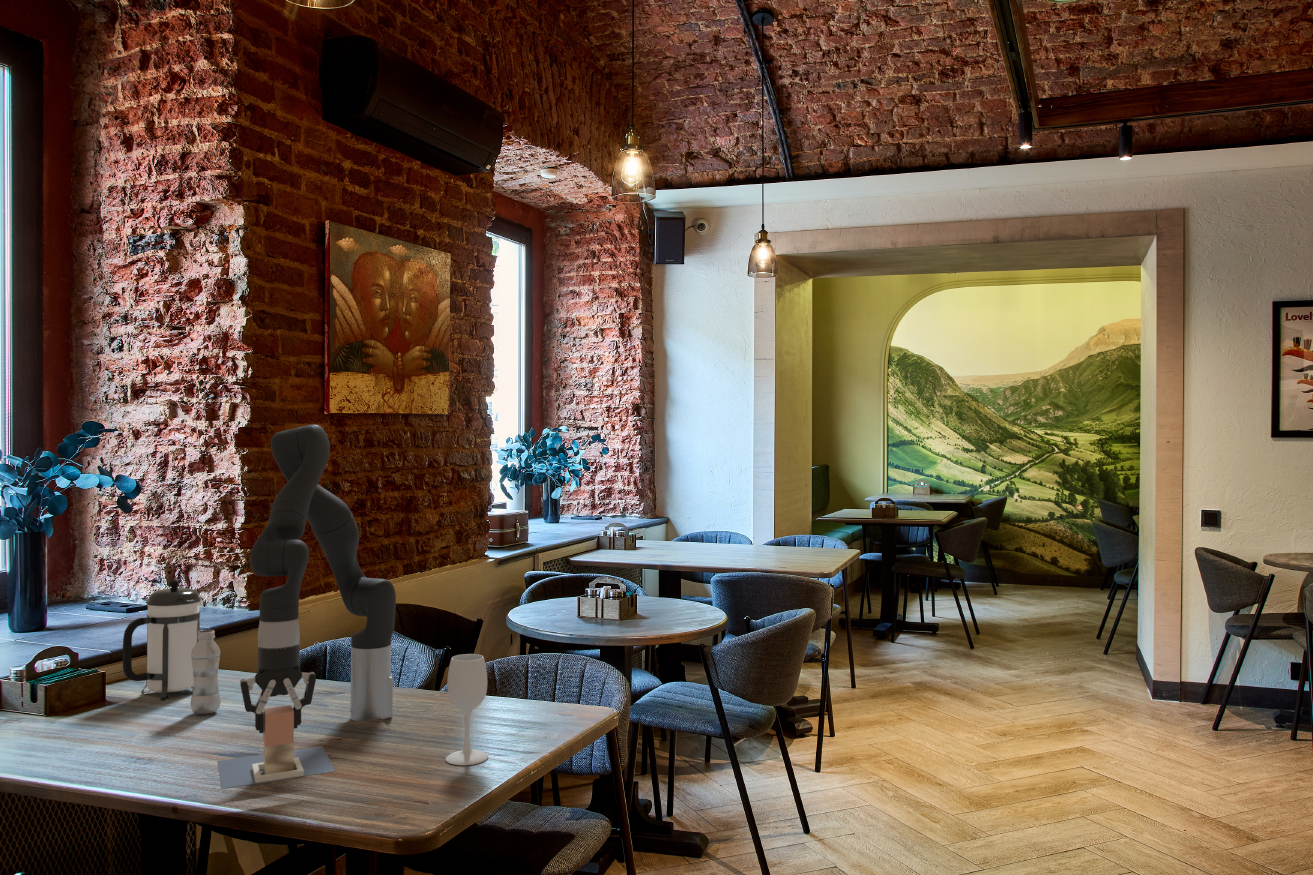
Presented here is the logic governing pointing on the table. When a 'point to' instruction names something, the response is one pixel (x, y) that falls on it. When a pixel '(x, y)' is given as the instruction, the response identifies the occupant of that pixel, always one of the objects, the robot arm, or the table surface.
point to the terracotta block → (278, 725)
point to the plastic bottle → (205, 674)
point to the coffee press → (167, 640)
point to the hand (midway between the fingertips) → (278, 729)
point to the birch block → (278, 758)
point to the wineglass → (467, 700)
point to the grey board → (253, 773)
